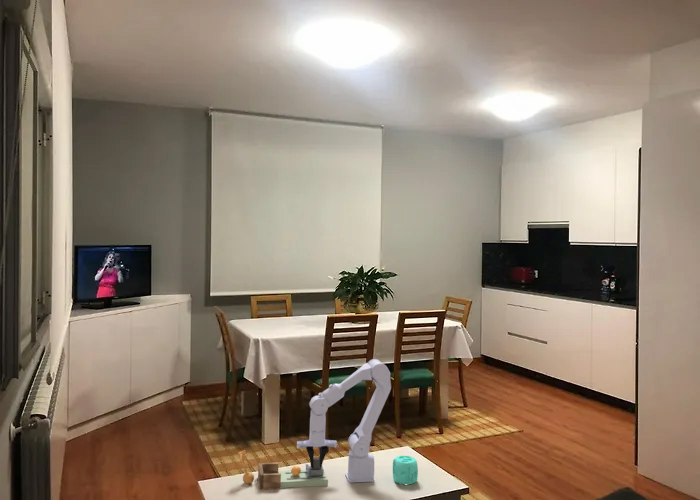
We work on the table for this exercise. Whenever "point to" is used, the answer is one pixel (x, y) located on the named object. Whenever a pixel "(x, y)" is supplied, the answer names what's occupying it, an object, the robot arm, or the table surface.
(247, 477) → the figurine
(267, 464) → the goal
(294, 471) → the ball
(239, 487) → the table surface
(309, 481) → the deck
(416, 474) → the decorative dice
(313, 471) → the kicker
